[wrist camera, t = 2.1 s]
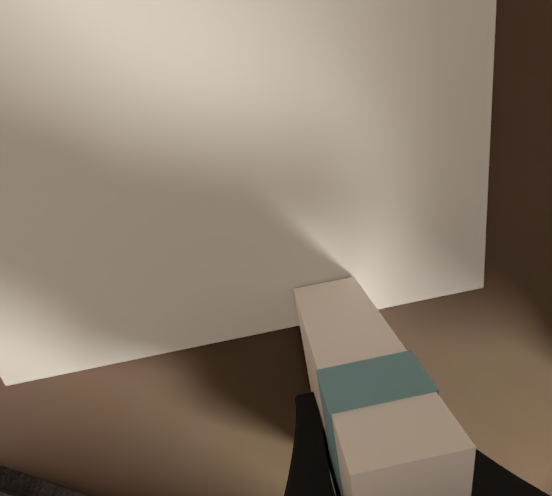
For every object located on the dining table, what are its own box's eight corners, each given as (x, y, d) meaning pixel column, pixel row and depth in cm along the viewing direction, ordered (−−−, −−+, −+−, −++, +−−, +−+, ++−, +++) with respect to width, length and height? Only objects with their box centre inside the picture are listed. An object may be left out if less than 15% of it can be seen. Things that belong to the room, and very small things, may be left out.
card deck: (355, 275, 11) (479, 445, 5) (369, 446, 15) (454, 664, 9) (291, 287, 11) (346, 473, 5) (321, 457, 15) (374, 683, 9)
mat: (494, -227, 8) (507, -246, 7) (476, 283, 12) (483, 287, 12) (-260, -105, 7) (-288, -119, 7) (13, 378, 12) (5, 385, 12)
